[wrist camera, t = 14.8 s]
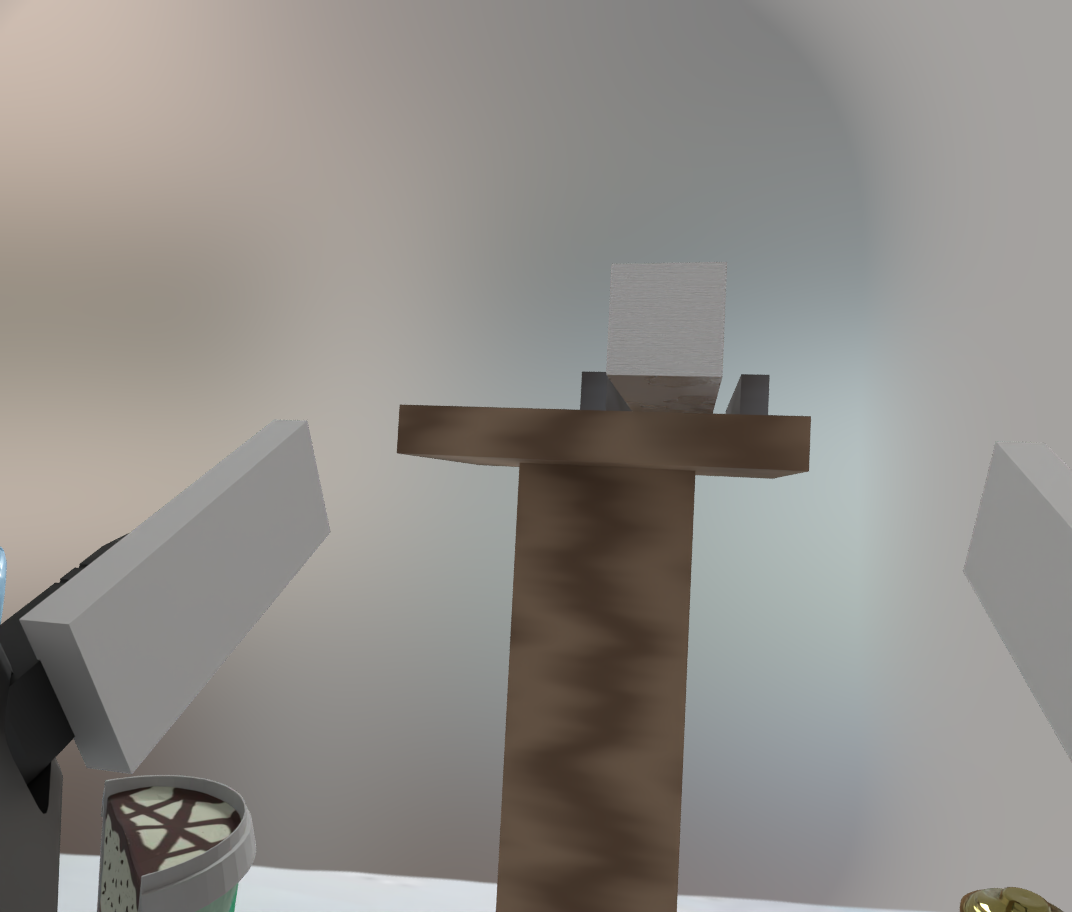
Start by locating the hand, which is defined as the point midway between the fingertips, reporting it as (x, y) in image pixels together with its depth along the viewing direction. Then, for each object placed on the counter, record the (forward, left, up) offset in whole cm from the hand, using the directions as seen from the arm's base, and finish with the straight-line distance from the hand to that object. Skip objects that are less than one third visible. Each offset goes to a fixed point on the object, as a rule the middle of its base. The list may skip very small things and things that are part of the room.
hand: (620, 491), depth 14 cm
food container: (-22, +18, -27) cm, 40 cm away
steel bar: (+1, +17, +3) cm, 17 cm away
